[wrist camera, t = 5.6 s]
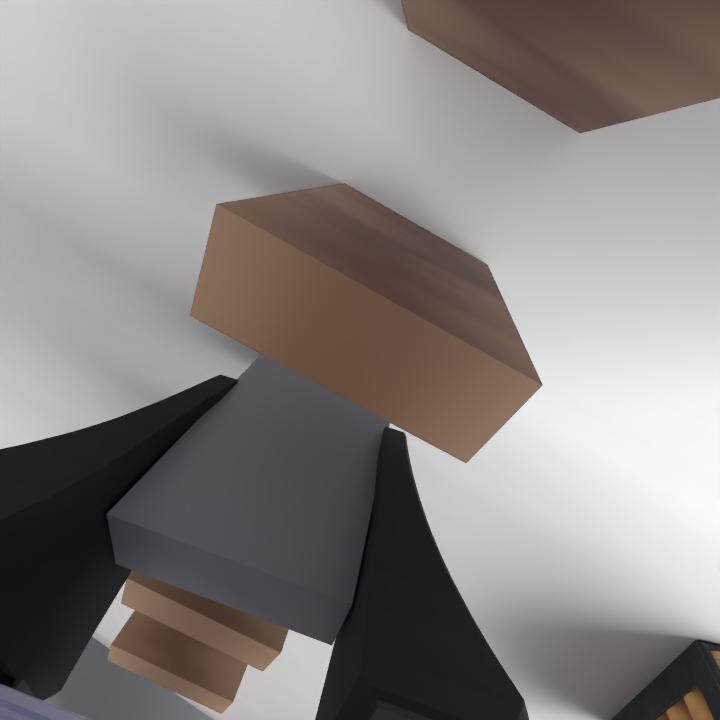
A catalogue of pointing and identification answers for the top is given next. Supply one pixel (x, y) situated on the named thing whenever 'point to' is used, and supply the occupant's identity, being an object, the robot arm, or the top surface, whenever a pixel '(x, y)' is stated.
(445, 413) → the walnut domino
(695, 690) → the ammunition clip
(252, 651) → the walnut domino
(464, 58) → the walnut domino
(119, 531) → the charcoal domino
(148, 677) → the walnut domino
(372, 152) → the top surface
